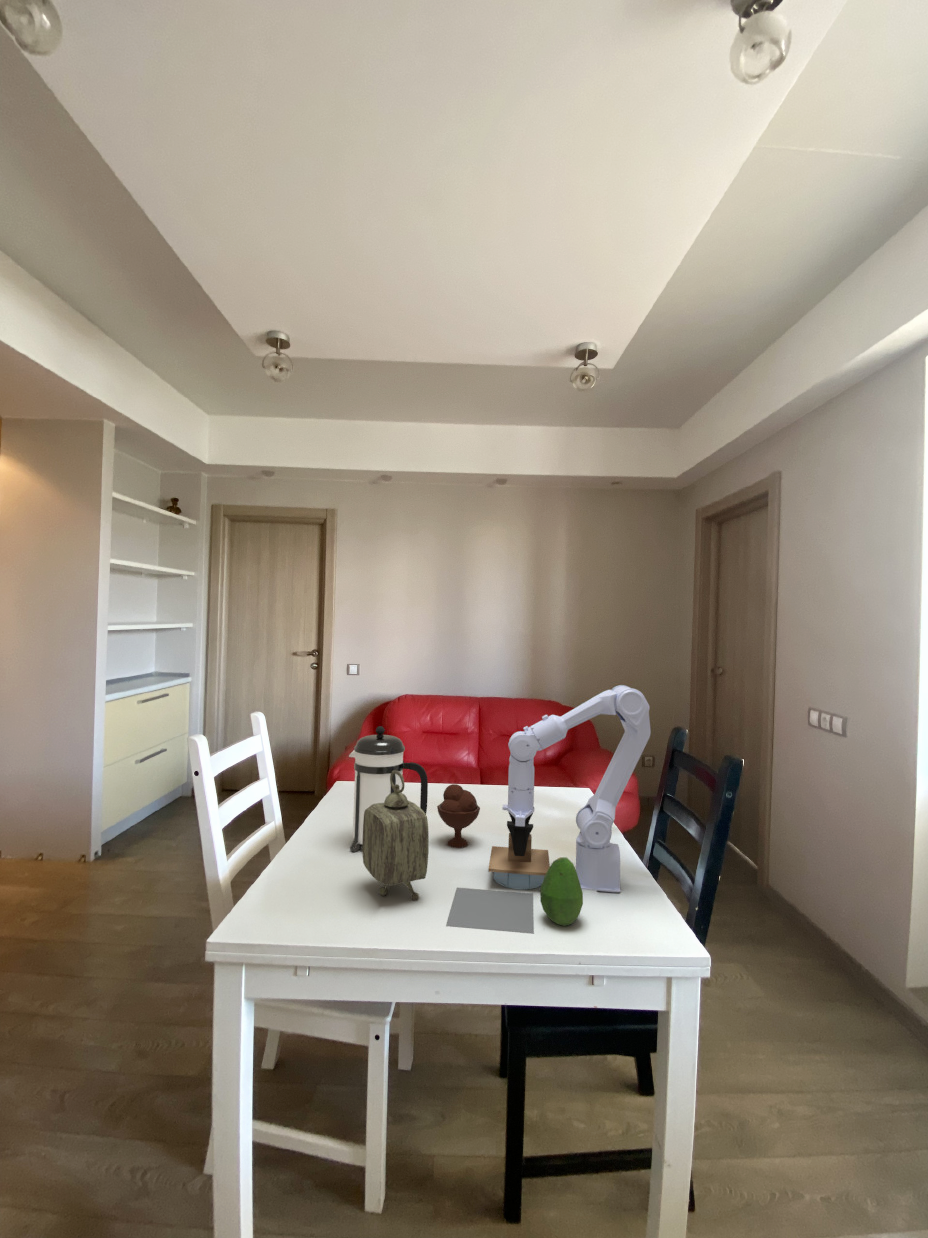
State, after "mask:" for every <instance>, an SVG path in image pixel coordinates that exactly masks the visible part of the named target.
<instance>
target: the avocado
mask: <svg viewBox="0 0 928 1238" xmlns="http://www.w3.org/2000/svg"><path fill="white" fill-rule="evenodd" d="M539 893H540V895H539V896H540V900H539V901H540V903H541V906H542V910H543V912H544V913H545V914H546V916H547V917H548V918H549V919H550V920H551V921H552V922H553V923H555V924H556V925H561V926H564V927H565V926H569V925H572V924H573V923H575V922H576V920H578V917H579V916H580V913H581V910H582V909H583V905H584V898H583V897H584V896H583V895H584V894H583V889H581V885H580V882H579V879H578V875H577V872H576V866H575V865H574V863H573V862H572V861H571V860H570V859H569V858H568V857H558V858H557V859H555V860H553V862H552V863H551V864H550V867H549V869H548V871H547V873H546V875H545V877H544V880H543V883H542V885H541V886H540V892H539Z"/></svg>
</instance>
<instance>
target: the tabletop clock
mask: <svg viewBox="0 0 928 1238" xmlns="http://www.w3.org/2000/svg"><path fill="white" fill-rule="evenodd" d="M393 774H397V775H398V776H399V777H400V779H401V781H402V789H401V790H399V785H398V784H396V785H395V786H394V784H393V782H392V776H393ZM390 783H391V786H392V788H393V790H394V793H391V794H389V795H388V796H387V797H386V799H385V801H384V803H377V804H372V805H371V806H370V807H368V808H367V809H366V810H365V812H364V820H363V846H361V847H362V863H363V865H364V867H365V869H366V870H367V871H368V872H369V874H370V876H372V877H373V878H374V879H375V880H376V881H377V882H378V883H381V884H383V885H382V887H380V888H379V895H380V896H382V897H383V896H386V894H387V893H388V889H387V886H389V887H391V886H396V885H400V884H404V885H406V886H407V888H408V890H409V891H410V893H411V894H410V898H411V900H412V901H414V902H416V901H418V900H419V899H420V894H419V893H418V892H416V891H414V888H413V886H412V883H411V882H414V881H419V880H425V879H426V876H427V873H428V865H429V864H428V863H429V850H430V849H429V848H430V847H429V846H430V845H429V842H430V841H429V823H428V821H429V820H428V816H427V813H426V814H425V812H424V811H423V810H422V809H421V808H420V806H418V804H416V803H415V802H413V801H410V800H408V797H407V796H406V794H405V793H403V791H404V789H405V778H404V776H403V773H402V774H401V773H400V772H398V771H396V770H394V771H392V773H391V775H390ZM401 792H402V793H401Z"/></svg>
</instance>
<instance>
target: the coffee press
mask: <svg viewBox="0 0 928 1238" xmlns="http://www.w3.org/2000/svg"><path fill="white" fill-rule="evenodd" d="M375 732H376V733H375V734H370V735H366V736H363V737H361V738H360V739H358V740H357V742H356V745H354V747H353V748H354V749H353V751H352V752H351V753H349V755H348V757H349V758H354V759H355V760H354V767H353V769H354V787H353V788H354V793H353V795H354V796H353V818H352V819H353V824H352V825H353V826H352V837H353V841H352V842H351V845H350V847H349V849H350V851H351V852H353V853H356V852H357V853H358V851H359V849H360V848H361V847H363V820H364V812H365V810H366V809H367V808H368V807H370V806H371V805H372V804H377V803H384V801H385V799H386V797H387V796H388V795H389V794H391V793H394V790H393V788H392V786H391V783H390V775H391V773H392V771H394V770H396V771H398V772H400V773H401V774H402V775H403V770H410V771H414V772H416V773H417V774H418V775H419V778H420V803H419V805H420V806H419V807H420V808H421V809H422V810H423V811H424V812H425V814H426V815H427V811H428V789H429V788H428V787H429V784H428V783H429V780H428V774H427V772H426V769H425V768H424V767H423V766H422V765H420V764H419V763H417V762H411V761H410V762H405V761H404V752H405V750H406V746H405V745H404V743H403V741H402V740H401V739H400V738H398V737H397V736H395V735H388V734H385V732H386V729H385V728H384V727H383V726H381V725H379V726H377V727H376V728H375ZM392 782H393V784H394V786H395V785H396V784H398V785H399V790H401V789H402V781H401V779H400V777H399V776H398V775H397V774H393V776H392ZM401 793H403V792H401Z"/></svg>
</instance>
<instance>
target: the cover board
mask: <svg viewBox="0 0 928 1238" xmlns="http://www.w3.org/2000/svg"><path fill="white" fill-rule="evenodd" d="M532 836H533V835H532V834H531V833H530V835H529V838H528V841H527V847H526V852H525V855H524V856H515V855H514V850H513V843H512V838H511V834H510V832H509V833H508V843H507V844H508V846H494V845H492V846H491V852H490V856H489V863H488V869H487V872H490V873H494V872H501V873H514V874H528V875H542V876H545V875H546V873H547V871H548V869H549V867H550V866H551V864H550V856H549V849H538V848H532Z"/></svg>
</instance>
